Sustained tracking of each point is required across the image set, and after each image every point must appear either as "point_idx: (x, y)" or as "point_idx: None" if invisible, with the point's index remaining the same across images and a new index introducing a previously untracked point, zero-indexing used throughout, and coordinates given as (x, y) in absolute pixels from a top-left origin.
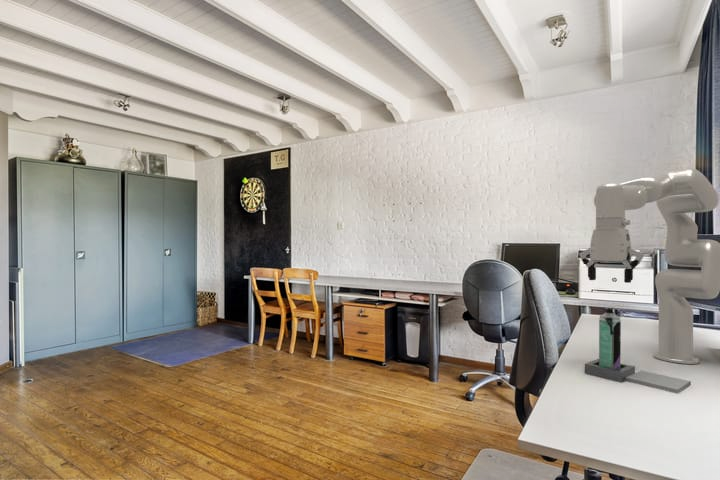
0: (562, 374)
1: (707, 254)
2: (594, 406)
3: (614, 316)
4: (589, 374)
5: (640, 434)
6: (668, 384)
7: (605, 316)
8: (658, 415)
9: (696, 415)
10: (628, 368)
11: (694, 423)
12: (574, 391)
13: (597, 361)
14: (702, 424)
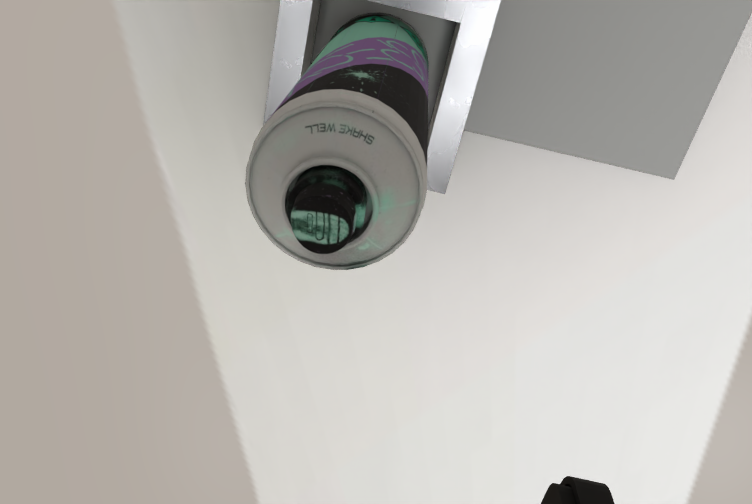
0: (200, 220)
1: None
2: (395, 490)
3: (379, 242)
4: None
5: None
6: (646, 116)
7: (308, 257)
8: (564, 457)
9: (678, 393)
10: (469, 84)
11: (655, 460)
12: (311, 402)
13: (299, 38)
14: (676, 455)
